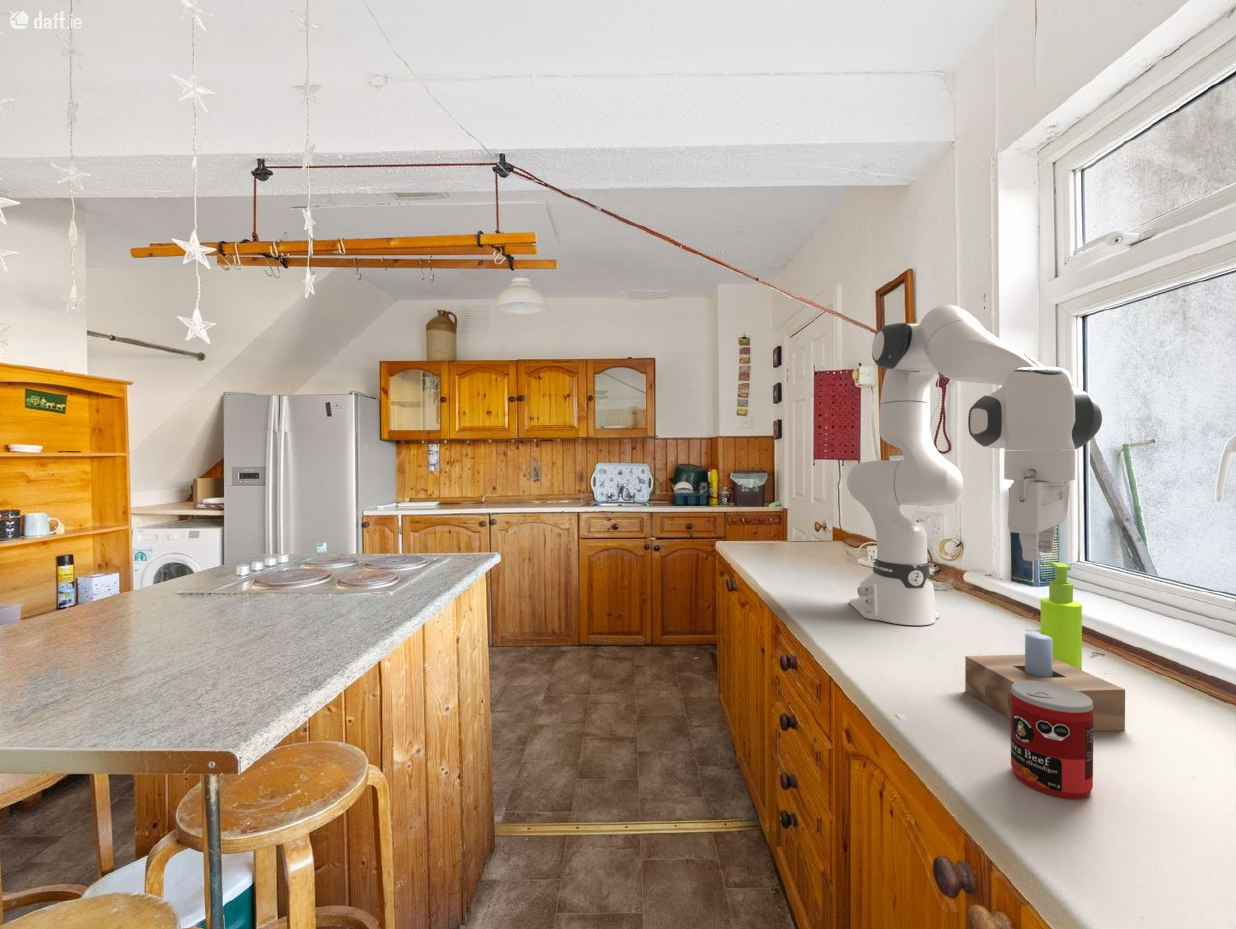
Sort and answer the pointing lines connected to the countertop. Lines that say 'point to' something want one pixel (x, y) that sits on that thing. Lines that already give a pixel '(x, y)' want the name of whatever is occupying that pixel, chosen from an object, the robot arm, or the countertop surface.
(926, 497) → the robot arm
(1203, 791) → the countertop surface
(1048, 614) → the soap dispenser
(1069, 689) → the canned food
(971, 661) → the socket block
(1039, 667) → the dowel
